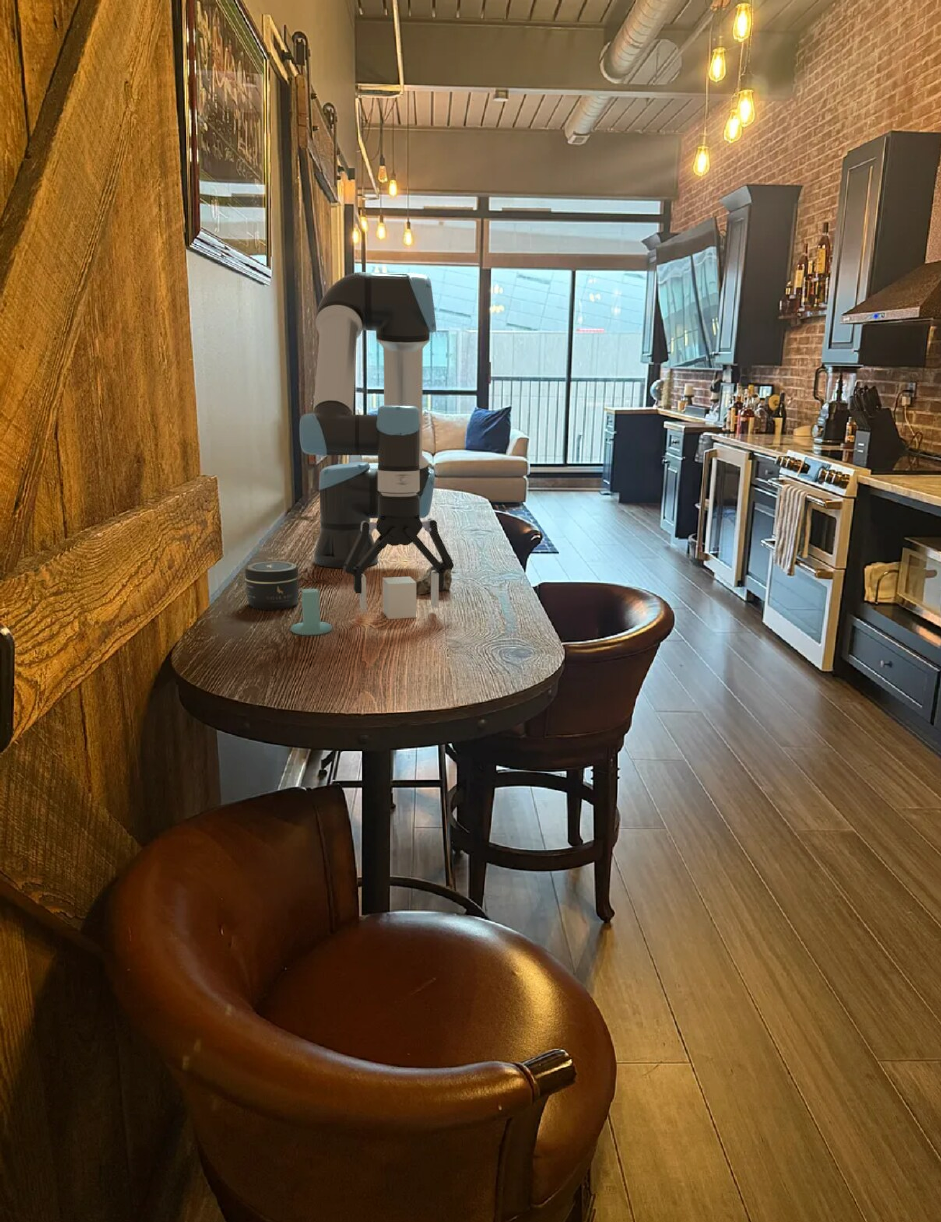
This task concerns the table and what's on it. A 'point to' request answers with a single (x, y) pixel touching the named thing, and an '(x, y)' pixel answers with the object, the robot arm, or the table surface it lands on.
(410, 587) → the white rectangular block
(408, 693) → the table surface
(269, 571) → the jar
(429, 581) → the rock
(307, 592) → the teal post on base
